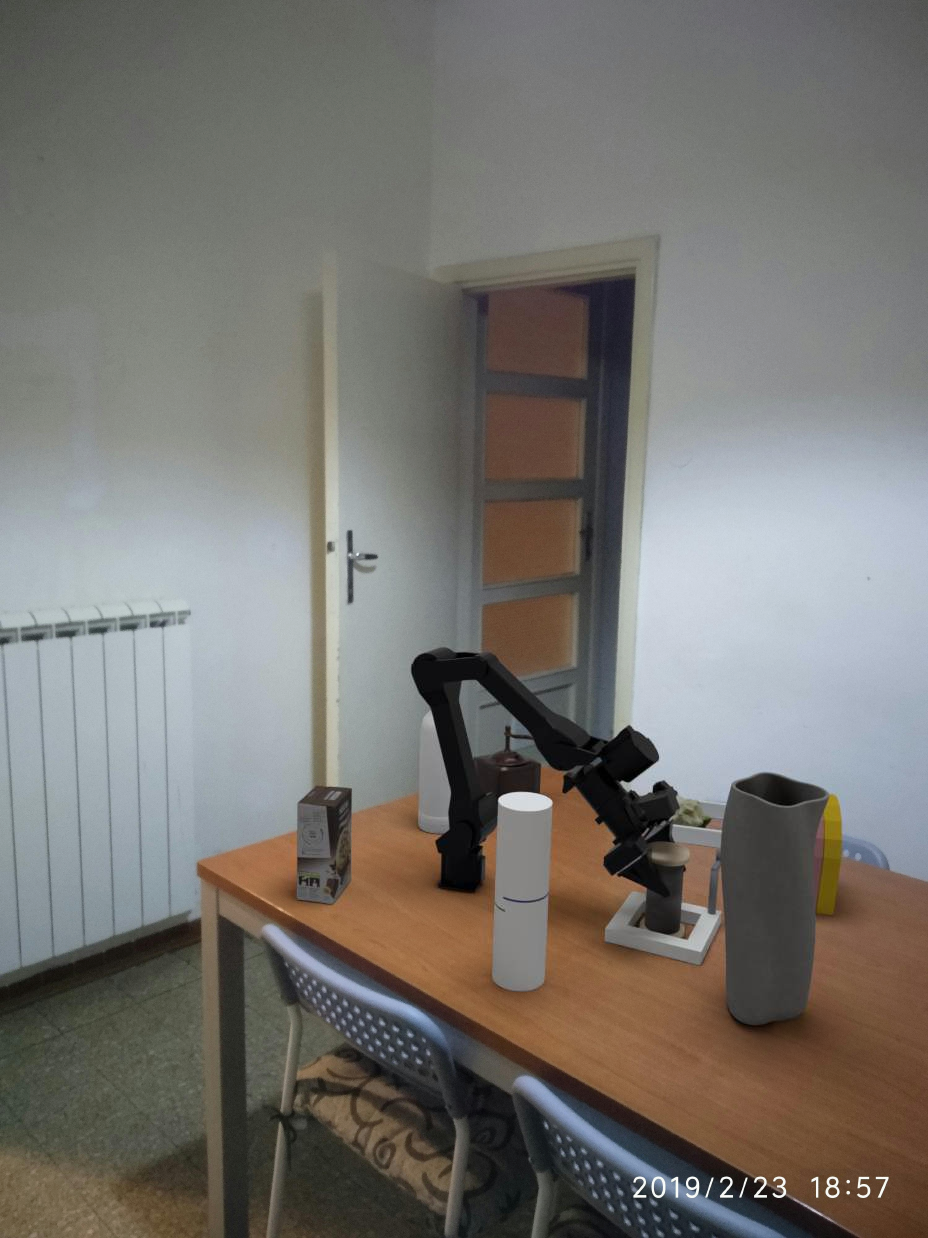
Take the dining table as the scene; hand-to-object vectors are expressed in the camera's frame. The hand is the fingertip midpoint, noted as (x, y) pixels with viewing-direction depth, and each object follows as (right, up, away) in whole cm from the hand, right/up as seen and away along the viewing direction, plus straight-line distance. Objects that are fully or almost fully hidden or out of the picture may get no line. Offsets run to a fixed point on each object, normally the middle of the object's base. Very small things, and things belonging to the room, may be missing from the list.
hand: (676, 883), depth 140 cm
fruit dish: (+12, -1, +43) cm, 45 cm away
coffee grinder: (-21, +1, +55) cm, 58 cm away
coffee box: (-54, -5, +13) cm, 56 cm away
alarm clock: (+24, -7, +15) cm, 29 cm away
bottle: (-36, -1, +41) cm, 54 cm away
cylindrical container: (-24, -10, -12) cm, 28 cm away
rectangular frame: (-1, -8, +3) cm, 8 cm away
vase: (+7, -12, -18) cm, 22 cm away
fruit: (+10, -2, +42) cm, 43 cm away
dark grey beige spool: (-2, -8, +2) cm, 8 cm away
